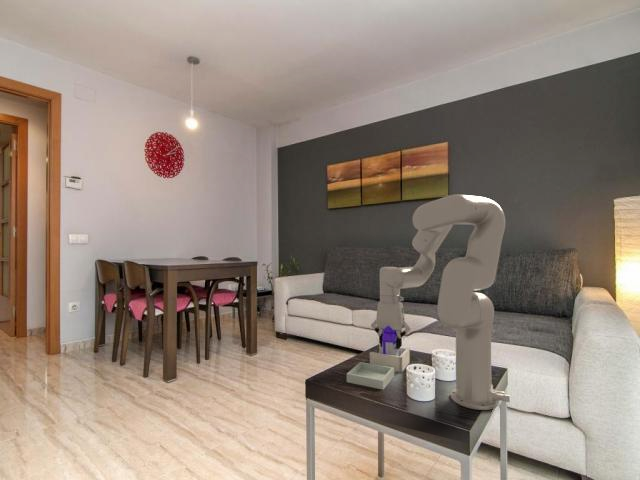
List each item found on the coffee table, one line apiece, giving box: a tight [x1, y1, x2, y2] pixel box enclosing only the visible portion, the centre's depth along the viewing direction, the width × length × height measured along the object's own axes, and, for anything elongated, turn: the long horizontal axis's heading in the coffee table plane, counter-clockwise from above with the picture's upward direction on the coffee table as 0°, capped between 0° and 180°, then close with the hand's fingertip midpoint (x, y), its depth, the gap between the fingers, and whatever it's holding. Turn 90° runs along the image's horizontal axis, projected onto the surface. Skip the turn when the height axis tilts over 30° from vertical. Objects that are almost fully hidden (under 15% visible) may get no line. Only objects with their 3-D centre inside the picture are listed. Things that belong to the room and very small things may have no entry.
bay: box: [369, 343, 411, 374], centre depth 128 cm, size 12×12×6 cm
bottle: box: [382, 326, 399, 356], centre depth 128 cm, size 7×6×17 cm
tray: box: [346, 361, 395, 390], centre depth 115 cm, size 13×13×3 cm
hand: (390, 346), depth 128 cm, fingers closed on bottle, 5 cm apart
